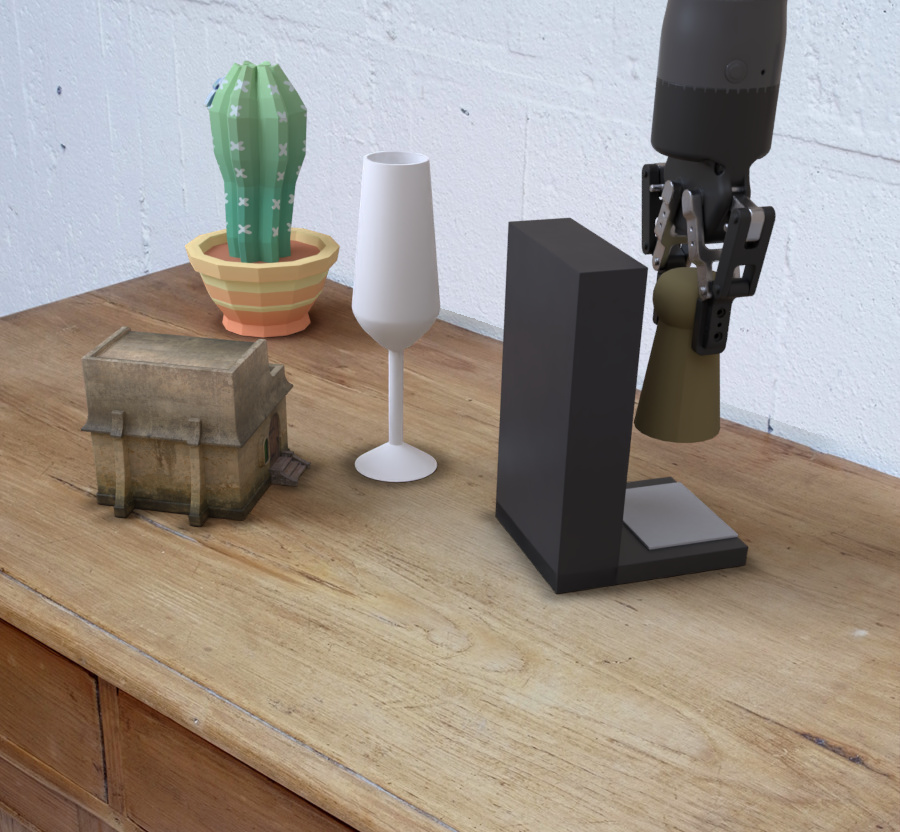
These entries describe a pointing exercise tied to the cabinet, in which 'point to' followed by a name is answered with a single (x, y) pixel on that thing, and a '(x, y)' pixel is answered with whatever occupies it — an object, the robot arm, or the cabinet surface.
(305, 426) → the cabinet surface
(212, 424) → the miniature house
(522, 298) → the coffee maker
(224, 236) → the potted cactus
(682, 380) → the olive pawn figure
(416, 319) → the champagne flute
